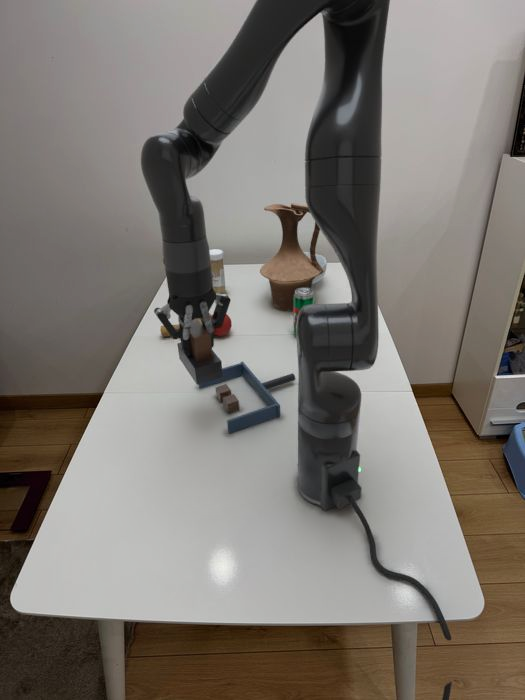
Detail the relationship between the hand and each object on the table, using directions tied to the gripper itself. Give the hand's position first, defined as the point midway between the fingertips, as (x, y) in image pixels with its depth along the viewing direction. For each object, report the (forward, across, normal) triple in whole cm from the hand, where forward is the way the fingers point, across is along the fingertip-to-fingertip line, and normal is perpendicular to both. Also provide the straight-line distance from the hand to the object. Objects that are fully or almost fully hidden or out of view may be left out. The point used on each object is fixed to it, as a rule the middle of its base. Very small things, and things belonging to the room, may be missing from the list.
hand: (198, 351), depth 89 cm
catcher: (+16, +12, +2) cm, 20 cm away
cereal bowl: (+15, +48, +46) cm, 68 cm away
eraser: (+4, 0, 0) cm, 4 cm away
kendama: (+15, +9, +32) cm, 37 cm away
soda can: (+15, +33, +19) cm, 41 cm away
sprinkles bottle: (+15, +24, +52) cm, 59 cm away
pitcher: (+15, +39, +36) cm, 56 cm away
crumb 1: (+16, +6, +4) cm, 17 cm away
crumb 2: (+16, +6, 0) cm, 17 cm away
